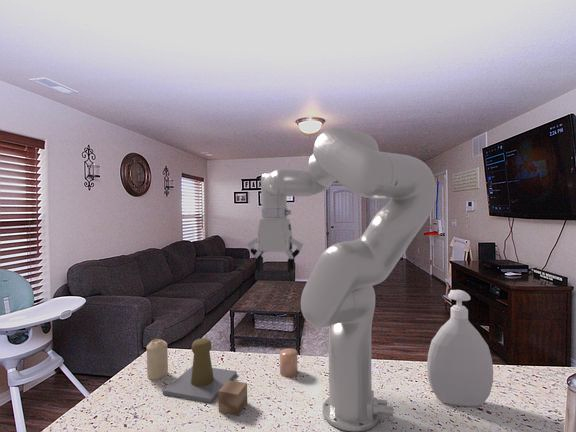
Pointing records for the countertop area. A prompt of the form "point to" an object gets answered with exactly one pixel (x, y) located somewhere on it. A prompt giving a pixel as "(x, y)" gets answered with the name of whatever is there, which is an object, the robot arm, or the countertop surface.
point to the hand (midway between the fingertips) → (275, 271)
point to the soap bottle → (460, 359)
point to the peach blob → (288, 362)
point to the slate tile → (199, 393)
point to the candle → (157, 359)
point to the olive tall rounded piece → (201, 363)
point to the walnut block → (232, 397)
